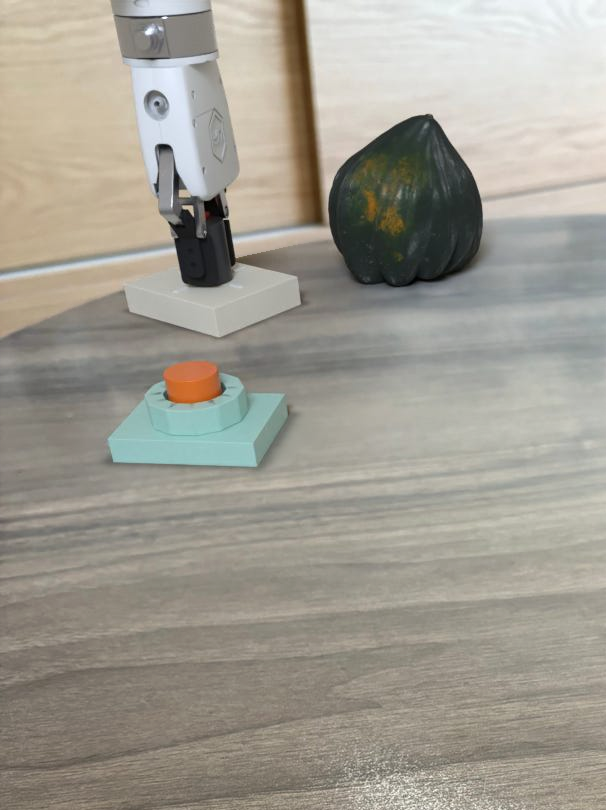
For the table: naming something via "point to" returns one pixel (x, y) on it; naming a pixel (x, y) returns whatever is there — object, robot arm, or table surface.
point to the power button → (192, 382)
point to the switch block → (200, 428)
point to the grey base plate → (213, 299)
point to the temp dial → (219, 248)
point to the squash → (406, 206)
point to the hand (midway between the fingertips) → (209, 272)
